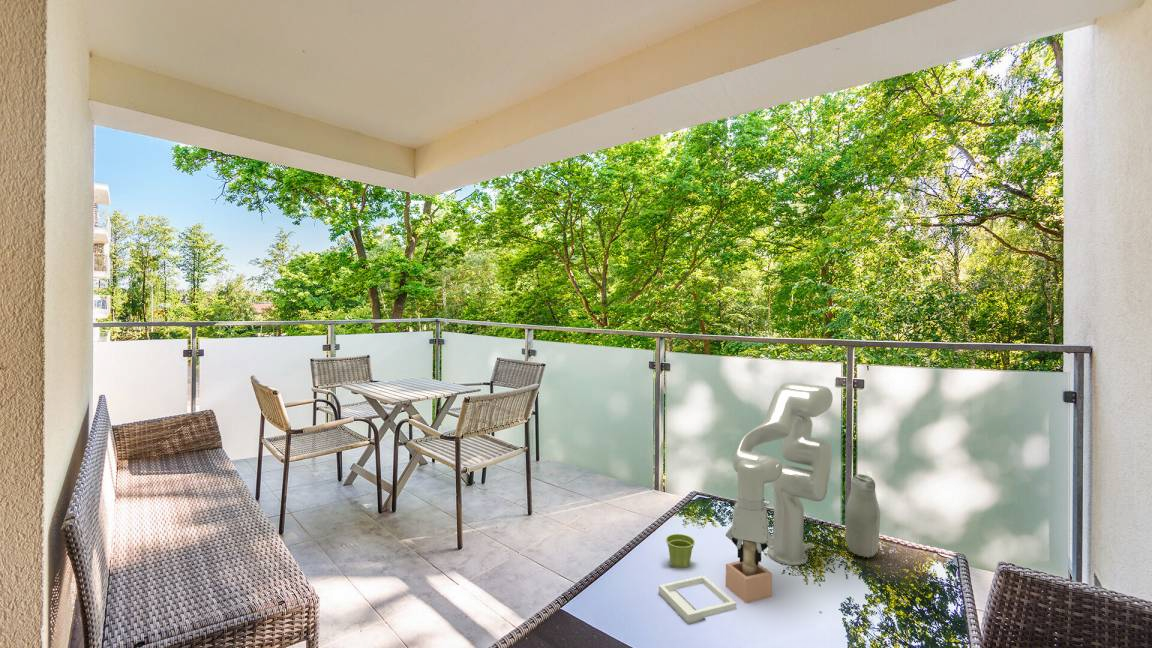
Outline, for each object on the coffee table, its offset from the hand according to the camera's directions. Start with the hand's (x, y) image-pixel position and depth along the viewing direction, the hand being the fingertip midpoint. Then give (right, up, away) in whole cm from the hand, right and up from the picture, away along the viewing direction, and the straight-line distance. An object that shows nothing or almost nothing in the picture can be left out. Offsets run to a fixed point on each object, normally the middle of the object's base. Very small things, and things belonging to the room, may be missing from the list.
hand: (749, 561), depth 160 cm
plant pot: (-18, -9, +17) cm, 26 cm away
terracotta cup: (0, -10, 0) cm, 10 cm away
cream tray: (-17, -10, -4) cm, 20 cm away
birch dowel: (0, -7, +1) cm, 7 cm away
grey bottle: (+47, -9, +25) cm, 54 cm away
